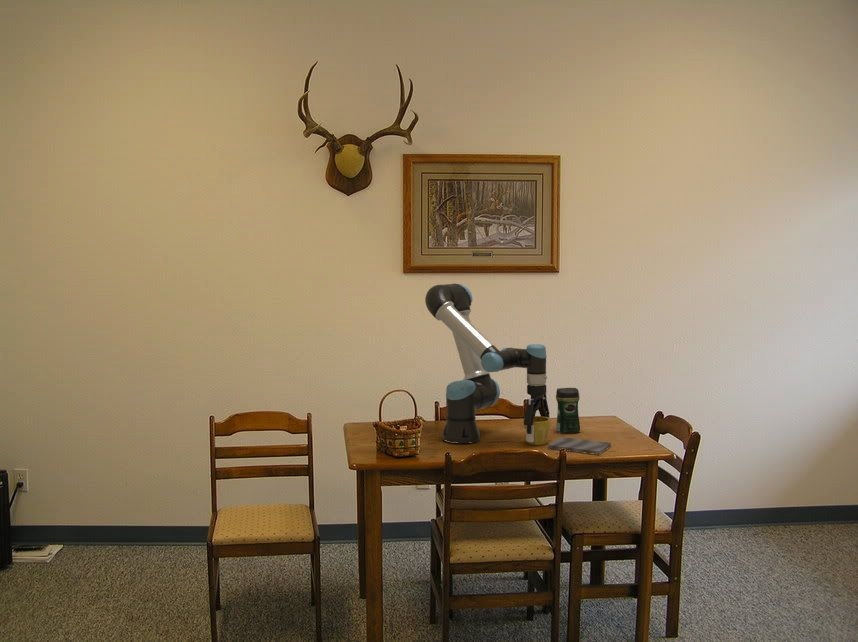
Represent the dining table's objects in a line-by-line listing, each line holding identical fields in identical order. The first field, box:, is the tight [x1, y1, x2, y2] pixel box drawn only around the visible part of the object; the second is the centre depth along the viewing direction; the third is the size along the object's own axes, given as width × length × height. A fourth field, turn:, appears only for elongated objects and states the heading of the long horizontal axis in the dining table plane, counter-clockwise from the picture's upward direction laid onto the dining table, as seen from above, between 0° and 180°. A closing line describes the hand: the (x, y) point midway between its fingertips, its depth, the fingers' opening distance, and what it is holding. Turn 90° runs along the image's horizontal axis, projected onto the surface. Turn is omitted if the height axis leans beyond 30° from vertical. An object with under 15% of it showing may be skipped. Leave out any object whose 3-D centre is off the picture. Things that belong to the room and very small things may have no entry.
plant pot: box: [523, 415, 551, 446], centre depth 282 cm, size 10×10×10 cm
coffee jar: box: [555, 387, 581, 434], centre depth 299 cm, size 10×8×19 cm
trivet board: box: [547, 436, 612, 455], centre depth 275 cm, size 20×14×2 cm
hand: (537, 438), depth 283 cm, fingers open, 12 cm apart
